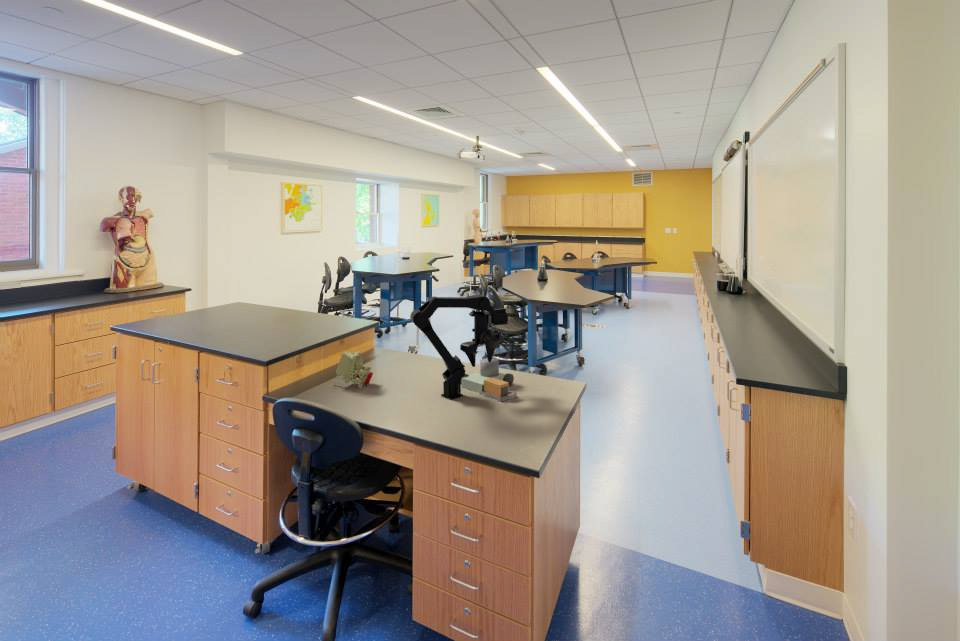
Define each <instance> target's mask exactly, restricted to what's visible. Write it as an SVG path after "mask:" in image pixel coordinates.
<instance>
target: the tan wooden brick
mask: <svg viewBox="0 0 960 641" xmlns="http://www.w3.org/2000/svg"><path fill="white" fill-rule="evenodd" d="M509 389H510V388H509V382H505V381H502V380H499V379H496V378H493V377H492V378H489V379H486V380H484V392H487V393H490V394H493V395H496V396H499V397H503V396H506V395H508V394H509Z"/></svg>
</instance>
